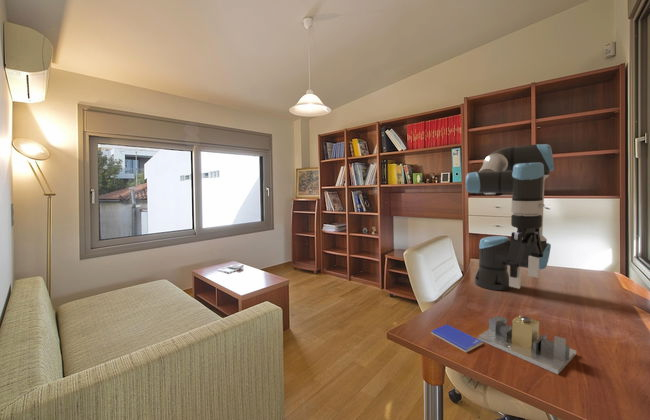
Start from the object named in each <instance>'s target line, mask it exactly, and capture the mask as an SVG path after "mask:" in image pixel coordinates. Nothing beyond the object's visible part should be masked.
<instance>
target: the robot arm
mask: <svg viewBox="0 0 650 420" xmlns="http://www.w3.org/2000/svg"><path fill="white" fill-rule="evenodd" d="M554 166H555V165H554V157H553V151H552V147H551V145H550V144H548V143H545V144H544V143H543V144H542V143H541V144H540V143H538V144H537V143H535V144H529V145H528V144H527V145H520V146H519V145H518V146H508V147H503V148H500V149H497V150H495V151H493V152H491V153H490V154H488V155H487V156H486V157H485V159H483V162H482V166H481V168H480V169H479V170H478V171H473V172H468V173H467V174H466V176H465V190H466V192H467V193H469V194H495V193H496V194H497V193H498V194H502V193H503V194H504V193H507V194H510V193H511V194H512V197H511V213H512V214H511V219H510V222H511V226H512V227H513V228H516V229H517V230H516V232H513V231H512V232H511V236H510V238H511V239H509V237H508V236H503V235H493V236H486V237H483V238H481V239H480V240H479V247H478V249H479V250H478V251H479V252H478V253H479V254H478V256H479V257H478V269H477V271H476V274H475V276H474V283H475V285H477V286H478V287H481V288H484V289H488V290H493V291H508V290H511V289H512V288H514V289H521V279H522V268H525V269H526V268H527V277H528V276H529V277H531V278H532V277H533V278H537V279H538V278H539V277H540V274H539V273H540V270H544V269H546V268H547V266H548V263H549V259H550V254H551V246H552V245H551V243H549V242H548V240H547V238H546V237H545V236H544V235H543V227H544V207H545V204H544V201H545V200H544V199H545V180H546V179H548V178H549V176H550V172H553V171H554V170H555V167H554ZM508 266H509V269H508ZM508 270H509V271H508Z"/></svg>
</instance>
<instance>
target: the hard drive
mask: <svg viewBox="0 0 650 420" xmlns="http://www.w3.org/2000/svg"><path fill="white" fill-rule="evenodd" d="M430 333H431V334H432V335H433V336H436V337H437V338H439V339H440V340H442V341H444V342H446V343H448V344H450V345H452V346H453V347H455V348H457V349H459V350H461V351H463V353H468V352H470V351H472V350H473V349H476V348H477V347H479V346H482V345H483V343H484V342H483V341H481V340H478V338H476V337H474V336H472V335H470V334H468V333H465V332H464V331H462V330H460V329H458V328H455V327H453V326H452V325H449V324H444V325H442V326H439V327H437V328H435V329H432V330H431V331H430Z"/></svg>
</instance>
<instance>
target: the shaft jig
mask: <svg viewBox="0 0 650 420" xmlns="http://www.w3.org/2000/svg"><path fill="white" fill-rule="evenodd" d="M477 339H478V340H480V341H482V342H483V343H485V344H488V345H490V346H492V347H494V348H496V349H499V350H502V351H503V352H505V353H508V354H510V355H512V356H515V357H517V358H519V359H521V360H524V361H526V362H529V363H531V364H533V365H535V366H538V367H540V368H542V369H545V370H547V371H549V372H551V373H553V374H556V375H559V374H560V373H561V372H562V370H564V369H565V367H566V366H567V365H568V364H569V363H570V362H571V360H573V359H574V357H575V356H576V355H577V350H576V349H573V348H570V345H569V344H566V343H567V341H566V340H567V338H566V337H565V338H564V337H560V336H557V335H554V338H553V339H554V340H552V339H551V340H550V339H547V335H546V334H543V333H542V334H541V335H539V338H538V339H536V340H535V341H534V342H533V349H532V350H530V349H528V348H525V347H523V346H520V345H518V344H516V343H513V342H512V326H511V325H509V324H508V318H506V317H503V316H501V315H499V316H498V315H497V316H493V317H489V318H488V329H487V330H485V331H483V332H482V333H481V334H479V335H478V336H477Z"/></svg>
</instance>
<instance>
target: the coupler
mask: <svg viewBox="0 0 650 420" xmlns="http://www.w3.org/2000/svg"><path fill="white" fill-rule="evenodd" d="M511 325H512V342H513V343H516V344H518V345H520V346H523V347H525V348H528V349H530V350H532V349H533V342H534V341H535V340H536V339H538V338H539V337H540V320H536V319H534V318H531V317H528V316H524V315H521V314H519V315H518V316H516V317H514V318H513V319H512V323H511Z"/></svg>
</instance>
